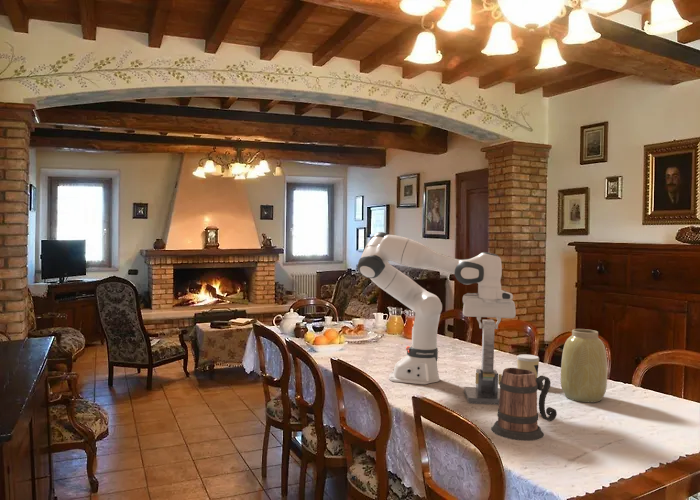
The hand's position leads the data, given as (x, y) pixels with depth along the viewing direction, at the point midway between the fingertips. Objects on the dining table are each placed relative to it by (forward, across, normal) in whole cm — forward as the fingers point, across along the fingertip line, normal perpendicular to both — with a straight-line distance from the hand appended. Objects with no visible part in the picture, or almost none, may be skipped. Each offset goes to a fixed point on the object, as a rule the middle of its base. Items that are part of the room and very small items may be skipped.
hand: (488, 328), depth 223 cm
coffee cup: (+28, +21, +25) cm, 43 cm away
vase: (+28, +39, +7) cm, 48 cm away
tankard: (+28, +8, -36) cm, 46 cm away
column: (+20, 0, 0) cm, 20 cm away
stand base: (+28, 0, 0) cm, 28 cm away
